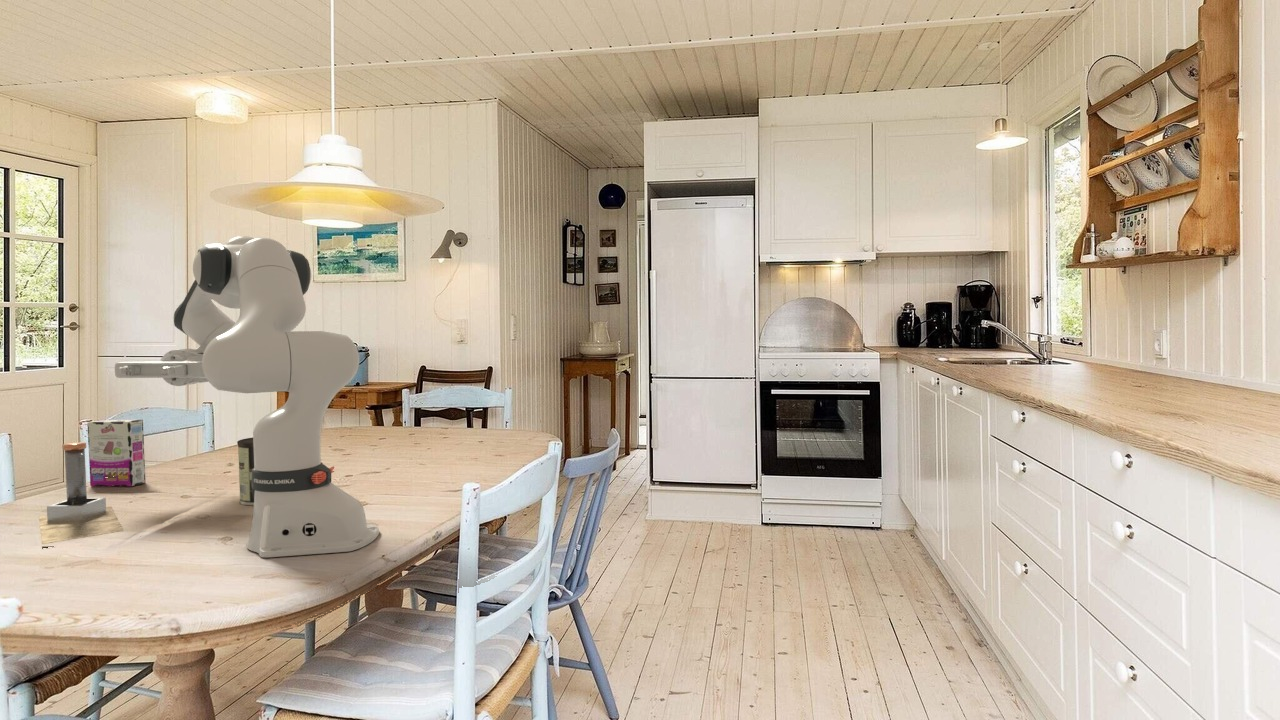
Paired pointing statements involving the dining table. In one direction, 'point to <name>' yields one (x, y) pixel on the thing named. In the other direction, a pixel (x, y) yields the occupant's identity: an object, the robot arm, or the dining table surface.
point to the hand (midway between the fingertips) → (144, 371)
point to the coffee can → (246, 470)
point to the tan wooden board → (79, 527)
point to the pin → (75, 473)
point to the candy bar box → (116, 453)
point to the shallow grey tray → (76, 510)
